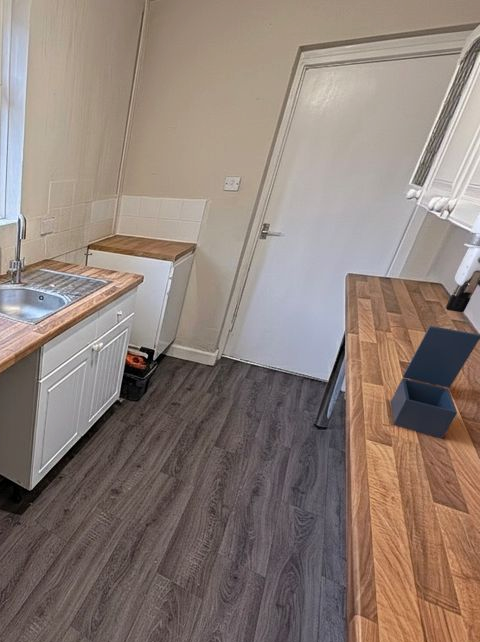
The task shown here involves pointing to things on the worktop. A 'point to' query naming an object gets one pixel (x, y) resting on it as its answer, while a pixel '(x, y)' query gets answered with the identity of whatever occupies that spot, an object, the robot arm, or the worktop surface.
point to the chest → (423, 408)
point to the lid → (441, 356)
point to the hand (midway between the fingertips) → (454, 310)
